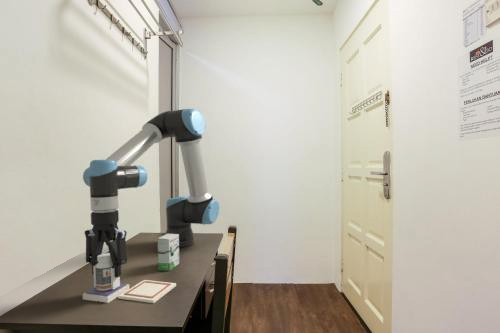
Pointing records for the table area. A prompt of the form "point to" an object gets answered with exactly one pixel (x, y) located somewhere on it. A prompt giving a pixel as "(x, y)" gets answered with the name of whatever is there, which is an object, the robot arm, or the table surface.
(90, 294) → the ink pad
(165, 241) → the ink box
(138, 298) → the print card
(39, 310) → the table surface
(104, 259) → the pill bottle
